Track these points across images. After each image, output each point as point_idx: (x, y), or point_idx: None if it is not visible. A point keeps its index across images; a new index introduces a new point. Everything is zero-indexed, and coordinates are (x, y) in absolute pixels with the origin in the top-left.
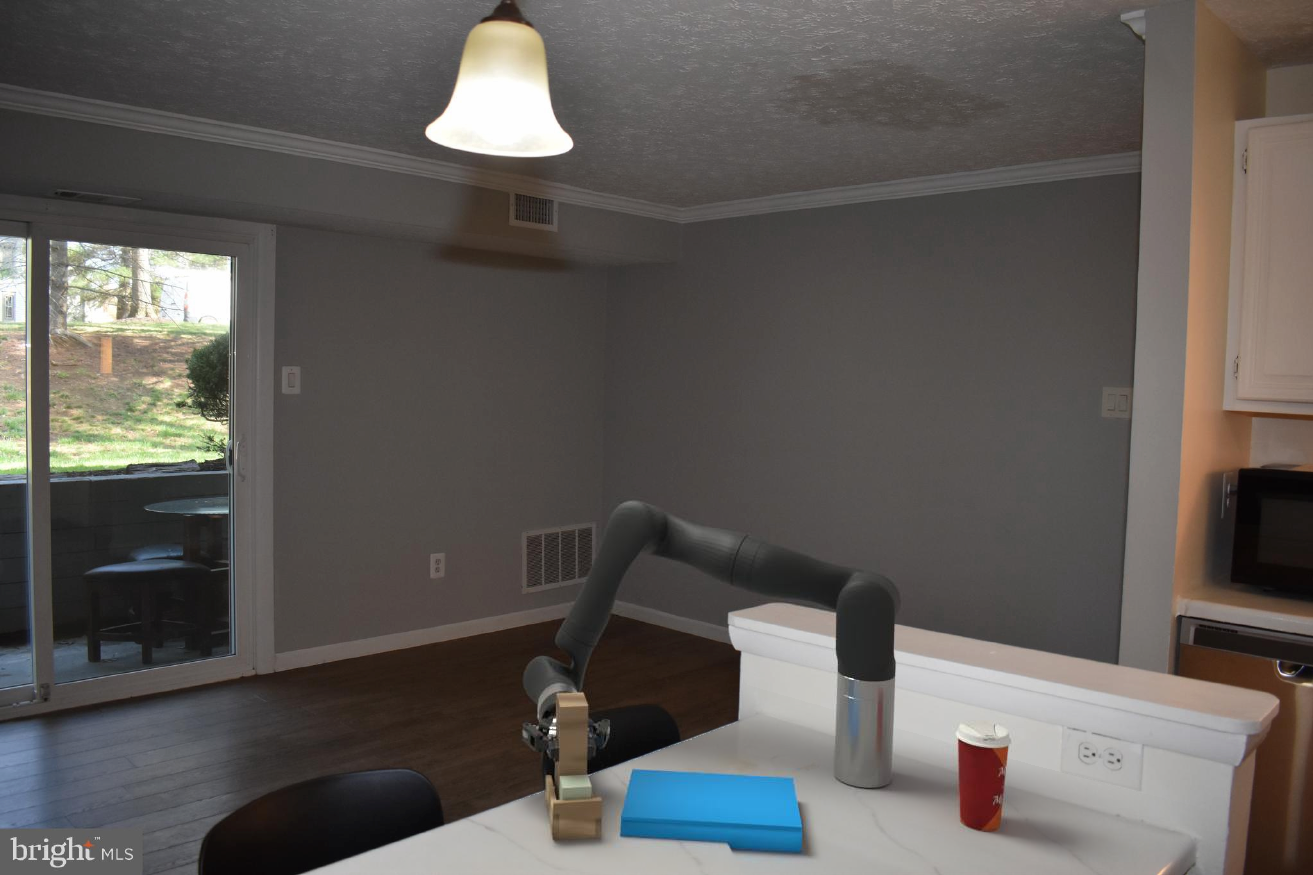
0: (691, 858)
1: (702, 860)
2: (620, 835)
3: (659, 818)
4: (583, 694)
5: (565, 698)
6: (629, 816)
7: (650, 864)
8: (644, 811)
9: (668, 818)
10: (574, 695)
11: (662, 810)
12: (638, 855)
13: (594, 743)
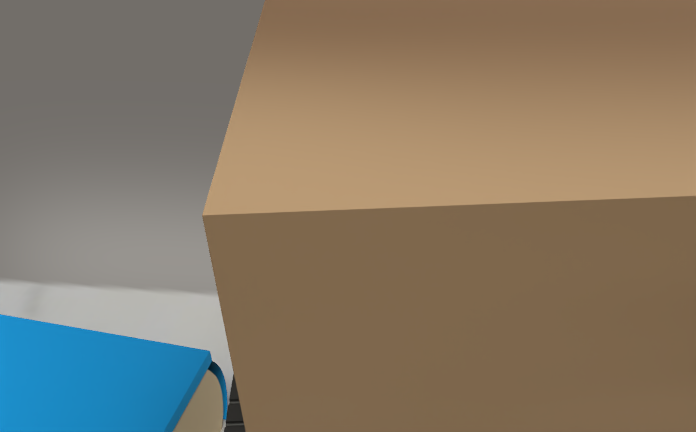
0: (43, 309)
1: (19, 298)
2: (225, 390)
3: (62, 328)
4: (245, 118)
5: (646, 13)
6: (173, 351)
7: (180, 292)
8: (89, 381)
9: (27, 327)
10: (479, 81)
11: (6, 385)
12: (196, 334)
13: (229, 411)
